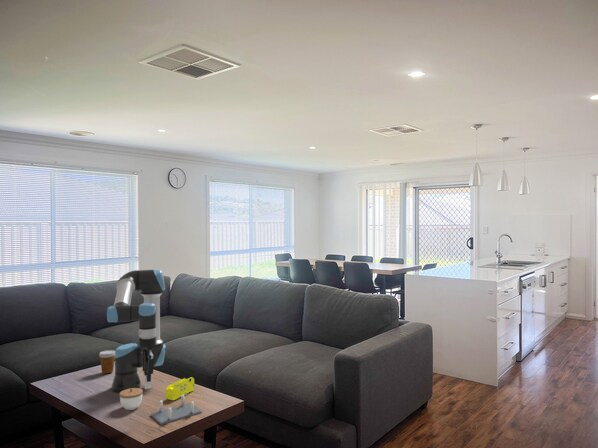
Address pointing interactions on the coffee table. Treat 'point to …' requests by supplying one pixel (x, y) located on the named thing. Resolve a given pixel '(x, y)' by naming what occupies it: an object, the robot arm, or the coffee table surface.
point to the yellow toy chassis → (179, 388)
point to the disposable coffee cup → (107, 360)
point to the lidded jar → (131, 398)
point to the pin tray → (175, 412)
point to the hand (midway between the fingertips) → (148, 387)
